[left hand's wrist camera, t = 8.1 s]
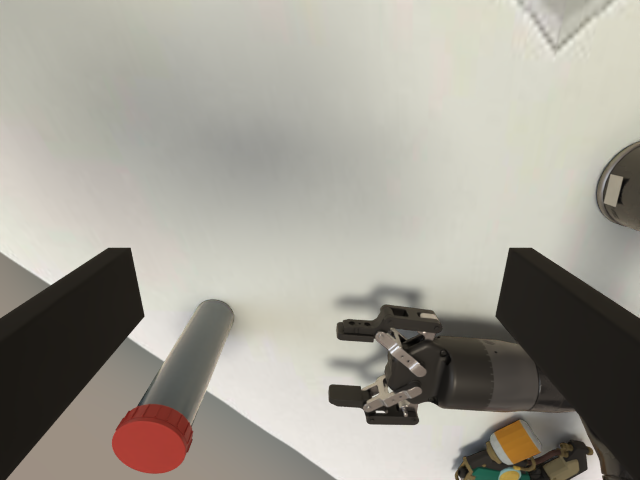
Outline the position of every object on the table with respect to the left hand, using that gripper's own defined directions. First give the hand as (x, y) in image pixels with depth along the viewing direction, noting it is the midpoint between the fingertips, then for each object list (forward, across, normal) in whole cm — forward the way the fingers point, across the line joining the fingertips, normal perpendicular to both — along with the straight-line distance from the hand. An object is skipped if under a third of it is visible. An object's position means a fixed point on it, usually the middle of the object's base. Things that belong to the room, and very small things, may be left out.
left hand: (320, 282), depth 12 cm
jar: (+26, -13, -18) cm, 35 cm away
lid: (+9, -13, -18) cm, 24 cm away
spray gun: (+26, +29, -42) cm, 58 cm away
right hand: (+20, +1, -20) cm, 28 cm away
